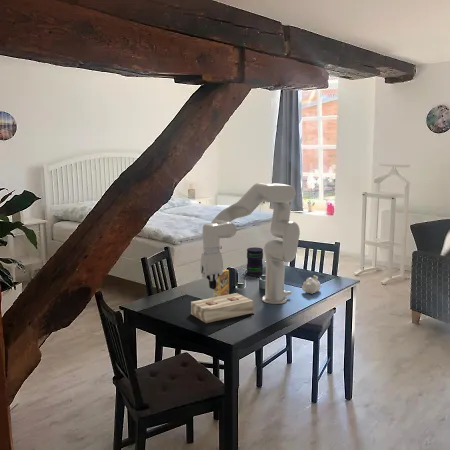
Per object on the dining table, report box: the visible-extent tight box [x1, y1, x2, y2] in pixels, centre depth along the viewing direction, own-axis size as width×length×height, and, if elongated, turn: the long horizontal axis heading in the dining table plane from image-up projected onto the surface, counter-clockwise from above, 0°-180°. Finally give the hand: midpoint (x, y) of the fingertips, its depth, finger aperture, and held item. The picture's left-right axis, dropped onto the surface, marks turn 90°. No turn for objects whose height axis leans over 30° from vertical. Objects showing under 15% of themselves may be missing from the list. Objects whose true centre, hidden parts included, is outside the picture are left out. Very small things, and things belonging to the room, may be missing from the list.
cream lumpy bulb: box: [301, 274, 322, 295], centre depth 277 cm, size 10×8×15 cm
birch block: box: [190, 292, 254, 324], centre depth 245 cm, size 14×26×6 cm, turn 122°
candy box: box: [212, 268, 230, 298], centre depth 264 cm, size 9×4×15 cm, turn 144°
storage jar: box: [246, 246, 264, 276], centre depth 315 cm, size 10×10×15 cm
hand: (212, 288), depth 241 cm, fingers closed
